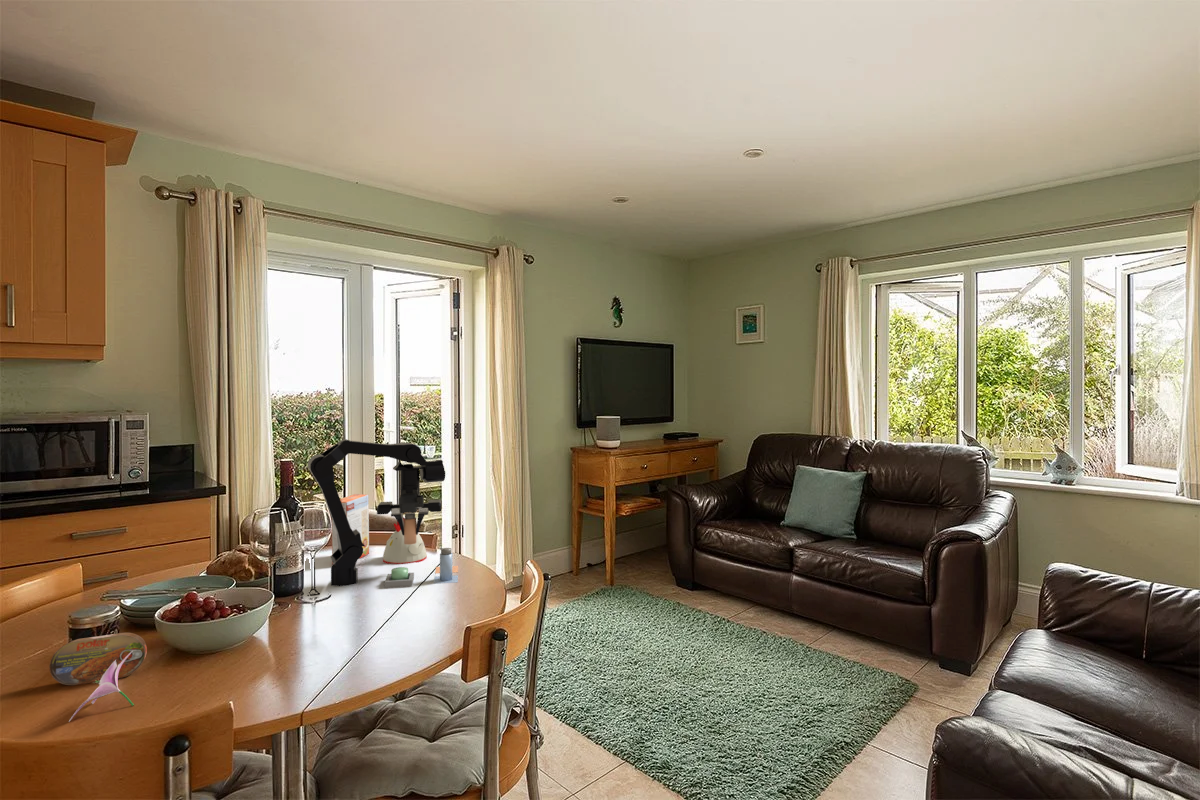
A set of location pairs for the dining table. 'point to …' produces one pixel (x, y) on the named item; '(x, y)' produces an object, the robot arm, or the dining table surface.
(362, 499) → the cracker box
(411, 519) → the terracotta marker
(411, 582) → the cream board with squares
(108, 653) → the tin
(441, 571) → the blue bottle
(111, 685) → the lily
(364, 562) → the dining table surface
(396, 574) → the button
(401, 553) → the kitchen timer
